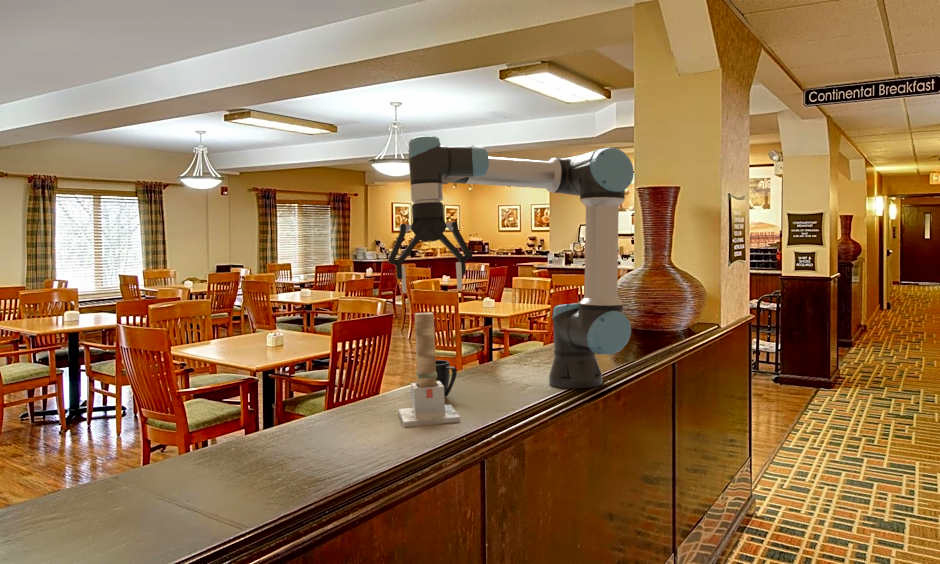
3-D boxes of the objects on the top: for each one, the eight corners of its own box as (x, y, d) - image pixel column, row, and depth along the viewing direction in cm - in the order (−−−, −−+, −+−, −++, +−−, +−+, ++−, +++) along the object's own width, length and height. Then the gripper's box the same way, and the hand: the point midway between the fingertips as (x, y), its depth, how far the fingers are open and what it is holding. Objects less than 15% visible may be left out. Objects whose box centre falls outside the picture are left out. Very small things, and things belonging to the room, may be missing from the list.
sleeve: (450, 409, 168) (449, 377, 168) (460, 421, 156) (458, 387, 155) (398, 413, 166) (397, 381, 165) (404, 427, 153) (402, 392, 153)
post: (435, 390, 163) (431, 312, 162) (438, 394, 159) (434, 313, 158) (417, 391, 162) (413, 313, 161) (419, 395, 158) (415, 314, 157)
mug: (444, 404, 174) (442, 367, 174) (414, 398, 183) (412, 363, 182) (466, 398, 180) (465, 362, 180) (436, 392, 189) (435, 359, 188)
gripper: (474, 201, 168) (479, 286, 169) (373, 205, 162) (379, 293, 163) (481, 199, 160) (486, 288, 161) (376, 203, 155) (381, 295, 156)
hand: (432, 291), depth 162 cm, fingers open, 13 cm apart
